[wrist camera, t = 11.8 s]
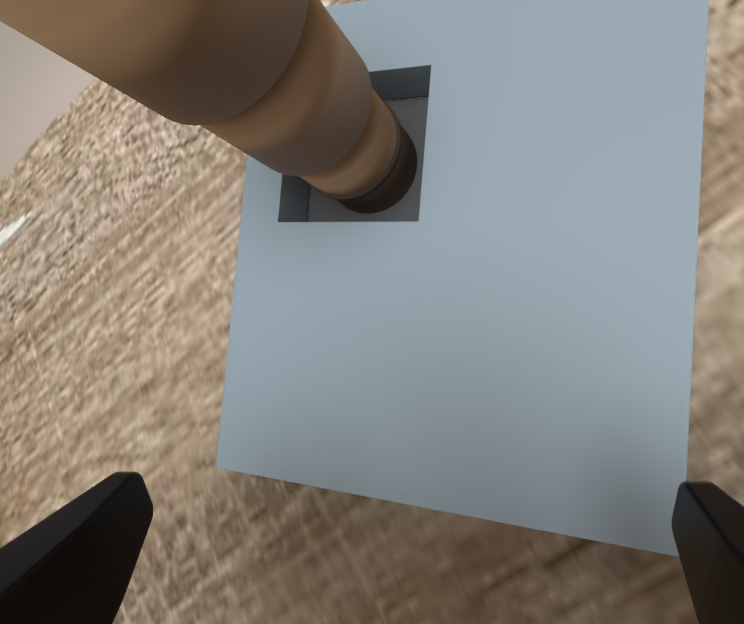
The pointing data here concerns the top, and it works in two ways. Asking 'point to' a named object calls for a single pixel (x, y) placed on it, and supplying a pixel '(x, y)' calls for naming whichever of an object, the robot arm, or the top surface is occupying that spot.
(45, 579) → the robot arm
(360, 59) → the leg
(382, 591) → the top surface
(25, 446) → the top surface
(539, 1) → the seat board
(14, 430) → the top surface
